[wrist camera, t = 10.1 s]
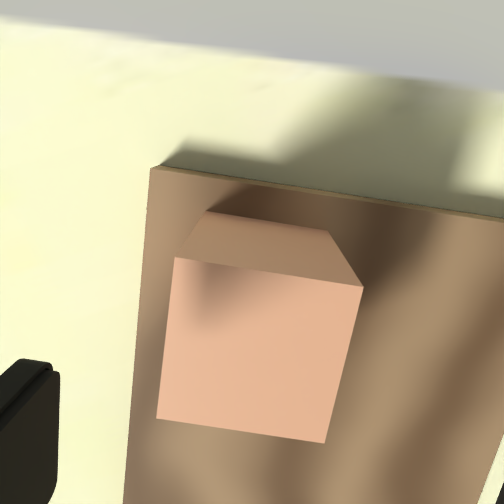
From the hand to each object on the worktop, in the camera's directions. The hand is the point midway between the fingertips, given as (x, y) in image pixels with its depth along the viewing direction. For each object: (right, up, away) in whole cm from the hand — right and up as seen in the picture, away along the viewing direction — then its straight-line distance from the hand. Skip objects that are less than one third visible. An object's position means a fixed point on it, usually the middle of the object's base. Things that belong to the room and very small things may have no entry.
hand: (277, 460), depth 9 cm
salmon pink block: (0, +3, +10) cm, 10 cm away
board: (+3, -3, +13) cm, 14 cm away
